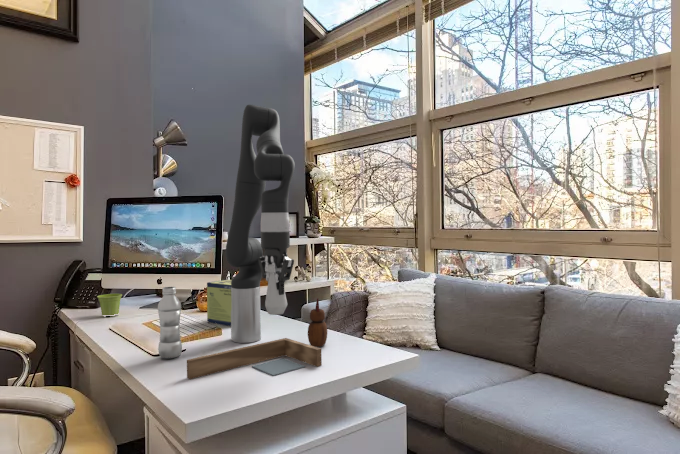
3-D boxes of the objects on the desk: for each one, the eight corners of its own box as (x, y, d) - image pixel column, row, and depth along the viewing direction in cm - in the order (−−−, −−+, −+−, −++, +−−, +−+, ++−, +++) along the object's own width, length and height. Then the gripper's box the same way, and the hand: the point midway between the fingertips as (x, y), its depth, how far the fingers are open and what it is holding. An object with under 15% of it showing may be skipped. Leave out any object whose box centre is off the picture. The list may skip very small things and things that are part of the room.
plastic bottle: (159, 362, 127) (158, 290, 127) (157, 356, 133) (155, 287, 133) (184, 359, 130) (182, 288, 130) (180, 353, 136) (179, 285, 136)
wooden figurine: (324, 348, 138) (323, 299, 138) (305, 348, 139) (305, 298, 139) (329, 343, 145) (328, 295, 145) (311, 342, 146) (311, 295, 146)
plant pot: (92, 318, 188) (91, 297, 188) (107, 313, 198) (107, 293, 197) (113, 318, 187) (112, 297, 187) (127, 314, 196) (127, 293, 196)
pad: (251, 367, 122) (251, 366, 122) (282, 359, 128) (282, 358, 128) (273, 376, 114) (273, 374, 114) (305, 367, 121) (305, 366, 121)
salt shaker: (287, 310, 124) (287, 262, 124) (287, 315, 118) (286, 264, 118) (266, 311, 124) (265, 263, 123) (264, 315, 118) (263, 265, 118)
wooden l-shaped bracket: (187, 377, 114) (186, 359, 114) (286, 353, 134) (285, 337, 134) (218, 395, 102) (217, 375, 102) (321, 365, 122) (321, 348, 122)
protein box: (235, 327, 169) (235, 284, 169) (206, 322, 177) (205, 282, 177) (255, 321, 178) (254, 281, 178) (226, 317, 186) (226, 279, 186)
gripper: (302, 230, 118) (303, 297, 118) (272, 229, 129) (273, 291, 129) (278, 230, 113) (279, 300, 113) (248, 230, 124) (249, 294, 124)
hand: (275, 295), depth 121 cm, fingers closed on salt shaker, 3 cm apart
